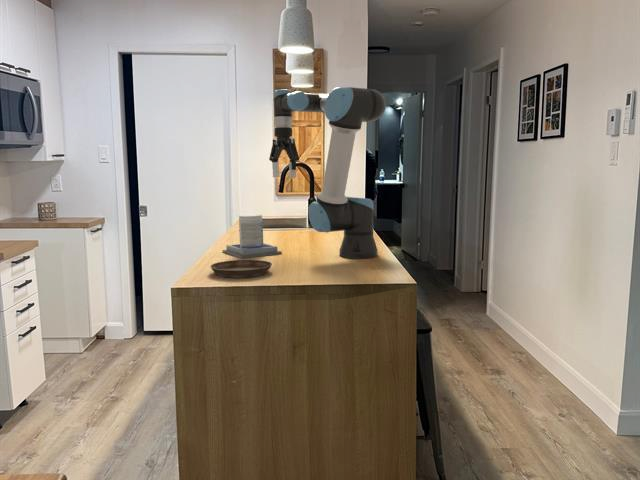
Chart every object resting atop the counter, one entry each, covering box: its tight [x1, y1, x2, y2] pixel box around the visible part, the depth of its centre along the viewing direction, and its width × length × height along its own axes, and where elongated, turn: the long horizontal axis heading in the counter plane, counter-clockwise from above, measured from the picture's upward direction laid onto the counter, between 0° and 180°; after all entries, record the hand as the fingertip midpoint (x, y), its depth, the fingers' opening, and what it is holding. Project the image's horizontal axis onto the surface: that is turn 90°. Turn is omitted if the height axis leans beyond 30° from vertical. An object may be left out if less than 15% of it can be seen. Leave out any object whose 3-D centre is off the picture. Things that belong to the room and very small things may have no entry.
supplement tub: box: [238, 213, 264, 250], centre depth 230 cm, size 10×10×15 cm
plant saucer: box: [210, 259, 273, 279], centre depth 191 cm, size 21×21×3 cm
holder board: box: [222, 242, 283, 260], centre depth 230 cm, size 18×18×3 cm
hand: (284, 177), depth 242 cm, fingers open, 13 cm apart
